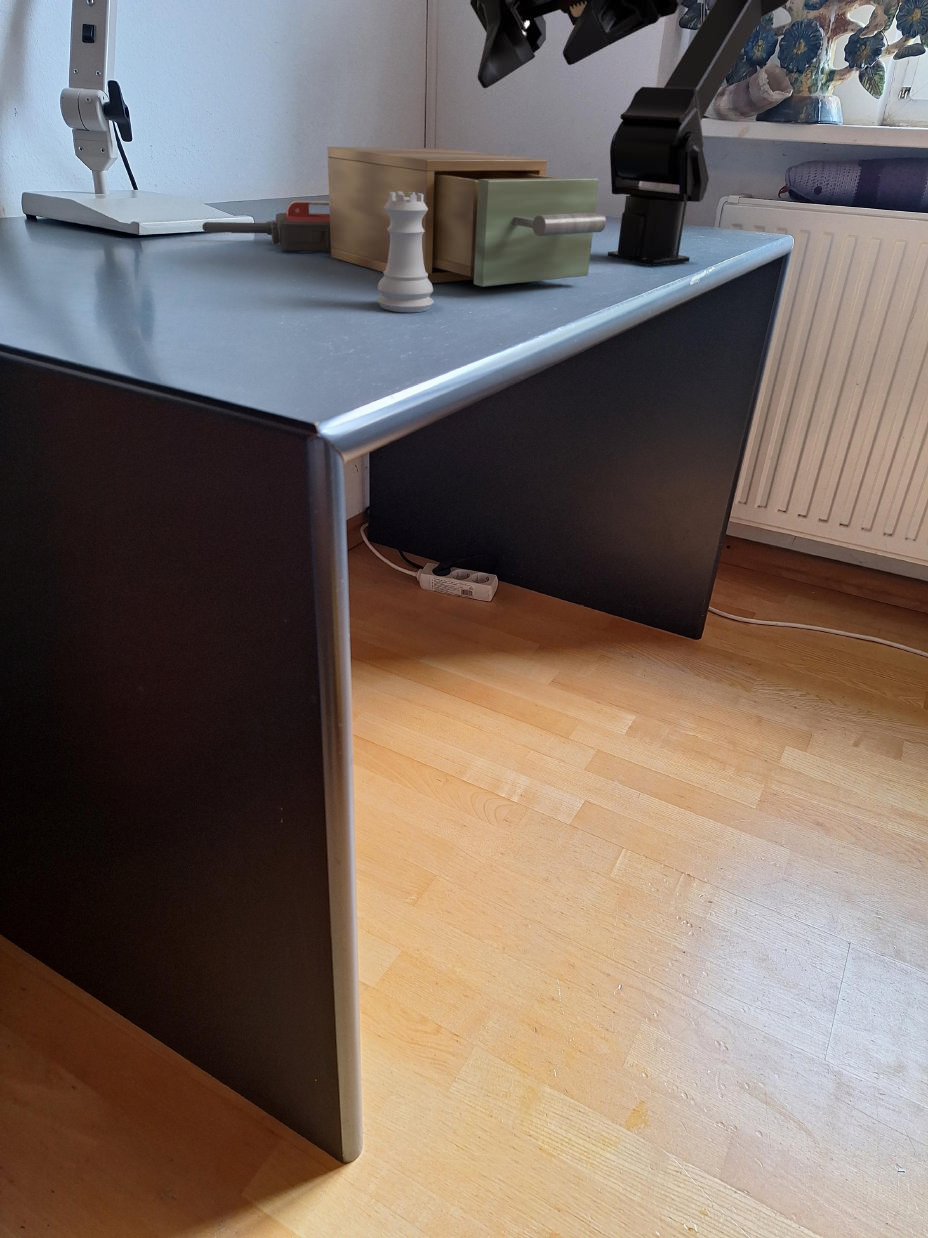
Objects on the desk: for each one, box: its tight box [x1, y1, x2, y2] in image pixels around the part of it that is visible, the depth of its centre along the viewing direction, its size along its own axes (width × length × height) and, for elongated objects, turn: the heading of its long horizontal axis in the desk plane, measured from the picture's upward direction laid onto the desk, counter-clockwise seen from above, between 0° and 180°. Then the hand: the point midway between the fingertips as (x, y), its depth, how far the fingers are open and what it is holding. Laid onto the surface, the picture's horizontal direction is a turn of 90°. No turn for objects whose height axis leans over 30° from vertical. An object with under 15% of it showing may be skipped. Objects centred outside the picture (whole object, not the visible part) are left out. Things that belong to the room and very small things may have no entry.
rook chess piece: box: [376, 192, 435, 314], centre depth 65 cm, size 4×4×8 cm
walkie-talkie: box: [201, 199, 331, 253], centre depth 90 cm, size 9×4×20 cm
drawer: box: [432, 171, 607, 288], centre depth 76 cm, size 18×12×8 cm
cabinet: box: [326, 146, 548, 284], centre depth 82 cm, size 16×14×10 cm
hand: (522, 71), depth 67 cm, fingers open, 9 cm apart
